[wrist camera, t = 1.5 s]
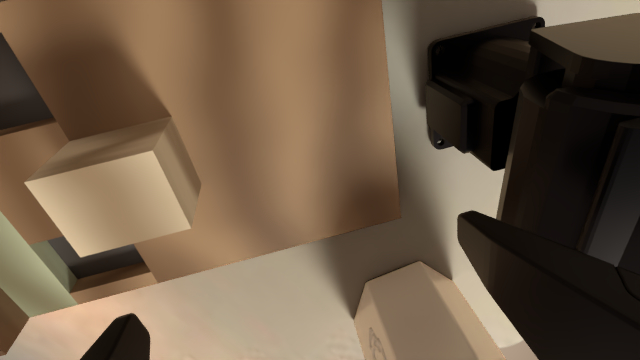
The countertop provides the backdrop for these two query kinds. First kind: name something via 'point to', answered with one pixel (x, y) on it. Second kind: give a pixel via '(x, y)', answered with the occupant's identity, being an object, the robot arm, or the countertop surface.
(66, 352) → the countertop surface
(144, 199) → the block
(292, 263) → the countertop surface
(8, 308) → the board
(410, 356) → the jar
